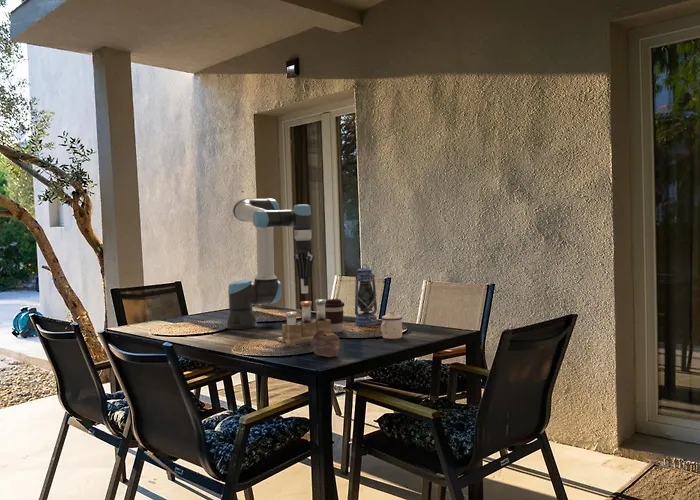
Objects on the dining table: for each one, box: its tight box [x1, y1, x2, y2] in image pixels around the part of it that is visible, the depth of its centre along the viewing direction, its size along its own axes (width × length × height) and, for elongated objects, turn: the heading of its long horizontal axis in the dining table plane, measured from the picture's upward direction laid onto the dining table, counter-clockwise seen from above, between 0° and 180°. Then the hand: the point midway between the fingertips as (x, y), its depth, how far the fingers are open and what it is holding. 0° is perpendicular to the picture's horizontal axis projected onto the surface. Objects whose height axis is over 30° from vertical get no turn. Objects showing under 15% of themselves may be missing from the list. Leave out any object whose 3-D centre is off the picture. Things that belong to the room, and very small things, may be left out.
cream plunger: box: [284, 311, 298, 326], centre depth 262 cm, size 5×5×10 cm
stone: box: [311, 330, 341, 358], centre depth 231 cm, size 13×8×10 cm
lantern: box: [353, 263, 380, 326], centre depth 304 cm, size 15×12×30 cm
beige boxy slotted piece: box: [277, 318, 337, 345], centre depth 267 cm, size 12×23×8 cm, turn 129°
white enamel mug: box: [380, 310, 403, 340], centre depth 265 cm, size 12×9×12 cm
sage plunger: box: [314, 298, 327, 321], centre depth 272 cm, size 5×5×10 cm
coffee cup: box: [325, 298, 345, 334], centre depth 284 cm, size 10×10×15 cm
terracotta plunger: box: [300, 300, 313, 323], centre depth 267 cm, size 5×5×10 cm
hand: (304, 293), depth 266 cm, fingers closed
